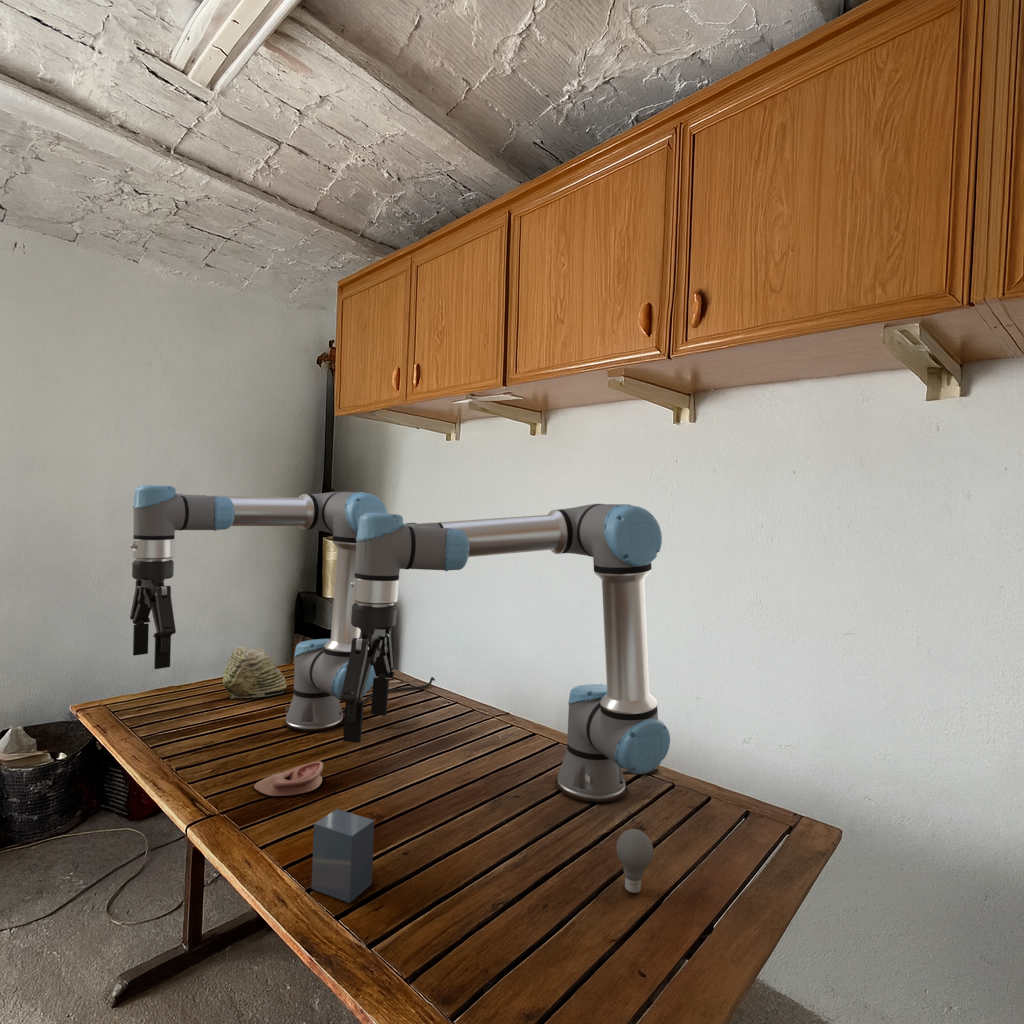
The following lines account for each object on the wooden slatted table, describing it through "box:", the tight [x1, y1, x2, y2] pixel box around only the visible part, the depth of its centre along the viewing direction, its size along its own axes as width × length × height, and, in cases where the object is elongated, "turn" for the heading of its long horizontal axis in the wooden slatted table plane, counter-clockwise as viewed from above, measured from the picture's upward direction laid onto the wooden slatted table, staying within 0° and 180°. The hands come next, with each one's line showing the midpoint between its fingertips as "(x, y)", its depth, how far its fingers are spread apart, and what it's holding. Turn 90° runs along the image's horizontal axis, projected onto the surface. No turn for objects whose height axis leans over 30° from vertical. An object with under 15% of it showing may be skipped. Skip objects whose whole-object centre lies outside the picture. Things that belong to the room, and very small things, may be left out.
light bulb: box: [615, 828, 654, 894], centre depth 106 cm, size 6×6×10 cm
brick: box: [311, 808, 375, 904], centre depth 103 cm, size 6×8×11 cm
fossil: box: [222, 646, 288, 699], centre depth 198 cm, size 9×18×15 cm, turn 132°
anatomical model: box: [253, 760, 324, 797], centre depth 138 cm, size 13×4×12 cm
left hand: (150, 661), depth 132 cm, fingers open, 13 cm apart
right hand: (366, 727), depth 108 cm, fingers open, 13 cm apart
